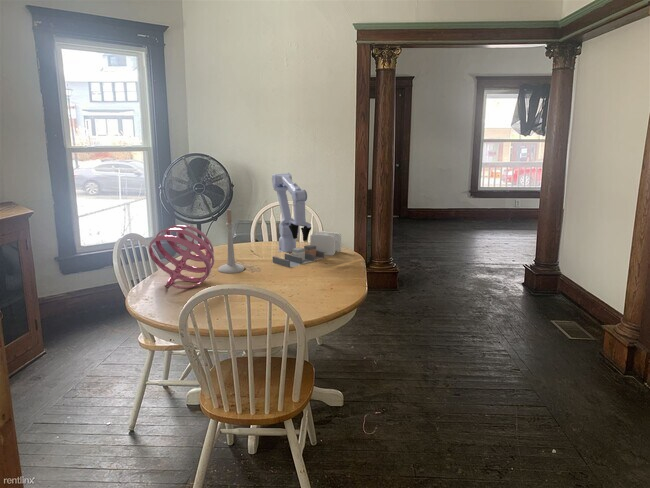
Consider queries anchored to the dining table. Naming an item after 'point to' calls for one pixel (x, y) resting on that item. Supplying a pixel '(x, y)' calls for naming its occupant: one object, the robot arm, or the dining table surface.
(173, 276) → the spiral basket
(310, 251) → the brown and grey box
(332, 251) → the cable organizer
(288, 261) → the grey tiered rack
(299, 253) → the grey rectangular block
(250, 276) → the dining table surface
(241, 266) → the candlestick
